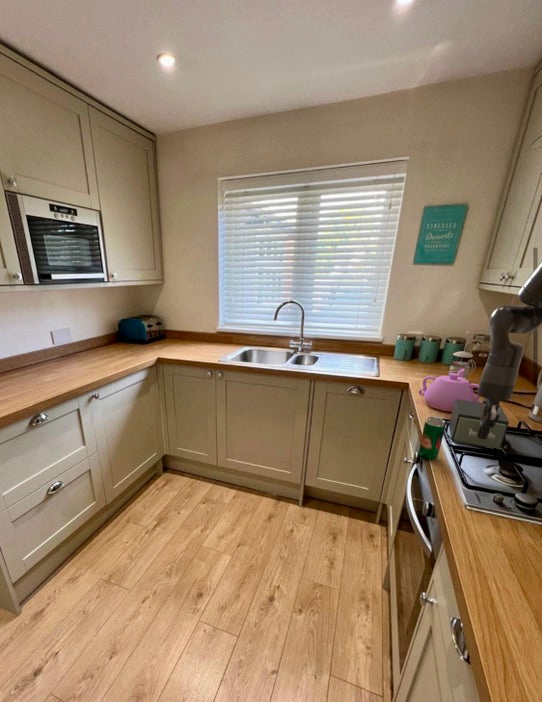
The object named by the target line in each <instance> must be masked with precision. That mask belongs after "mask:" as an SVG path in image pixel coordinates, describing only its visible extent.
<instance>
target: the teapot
mask: <svg viewBox="0 0 542 702" xmlns="http://www.w3.org/2000/svg"><path fill="white" fill-rule="evenodd" d="M463 372H464V368H461V369H460V370H459V371H458V373H457V374H456V373H449V372H448V375H440V376H438V377H436V376H434V375H428V376H425V377H424V378H423V380H422V388H420V389H419V390H418V395H419V396H421V397H423V399H424V401H425V403H426V404H427V405H428V406H430V407H432V408H433V409H437V410H440V411H443V412H449V413H450V412H451V413H452V410H453V406H454V402H455V399H458V400H465V401H472V402H479V403H481V402H482V400H481V401H480V400H479V399H480V398H481V396H479V395H478V394H477V395H476V397H475V392H474V389H473V387H474V388H476V389H478V388H479V384H477V383H470V381H469V380H468V379H467V380H466V379H464V378H462V376H463ZM427 380H433V381H432V382H431V383H430V384H429V385H428V386H427Z"/></svg>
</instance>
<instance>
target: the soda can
mask: <svg viewBox="0 0 542 702" xmlns="http://www.w3.org/2000/svg"><path fill="white" fill-rule="evenodd" d="M446 425H447V424H446V420H445V419H443V418H441V417H436V416H428V417H427V418H426V420H425V421H424V424H423V428H422V429H423V430H422V432H421V433H422V434H421V437H420V438H421V439H420V442H419V447H418V452H417V454H418V456H419V457H420V458H421V459H423V460H425V461H435V460H438V457H439V454H440V451H441V445H442V443H443V438H444V435H445V430H446Z"/></svg>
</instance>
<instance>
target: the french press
mask: <svg viewBox="0 0 542 702" xmlns="http://www.w3.org/2000/svg"><path fill="white" fill-rule="evenodd" d="M465 334H466V335H467V337H466V341H465V345H464V349H463V351H461V350H460V351H456V352H454V353H452V356H454V357H458V358H461V360H453V361H452V364H450V368H449V371H448V374H449V373H456V374H457V373H458V371H459V370H460V369H461V368H464V372H463V376H462V378H464V379H466V380H468V376H469V375H471V374H473V373H474V372H475V370H476V367H477V366H476V362H475V361H472V359H470V358H473V357H474V355H473V354H472V353H471V352H468V351H466V346H467V342H468V339H469V335H471V334H472V331H471V330H467V331H466V333H465ZM463 358H464V359H465V358H466V359H468V358H469V359H468V360H467V361H463ZM473 363H474V364H473ZM470 365H471V366H472V367H471V366H470ZM470 369H471V370H470Z"/></svg>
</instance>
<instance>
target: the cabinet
mask: <svg viewBox="0 0 542 702" xmlns="http://www.w3.org/2000/svg"><path fill="white" fill-rule="evenodd" d="M499 406H501V405H500V404H499ZM480 407H481V403H479V402H472V401H465V400H458V399H455V402H454V406H453V410H452V412H451V413H450V414H451V415H450V419H449V422H448V427H449V434H450V441H451V440H452V441H451V442H453V441H454V438H455V434H456V430H457V427H458V423H459V419H460V417H466V418H473V419H479V414H480ZM504 411H505V410H504V409H503V408H502V407H501V409H500V412H498V414H499V416H500V417H499V419H498V420H497V422H498V423H502V424H506V429H505V432H504V435H503V438H502V441H501V444H500V450H501V449H502V446H503V443H504V439H505V436H506V433H507V431H508V427H509V424H510V421H509V419H508V417H507V416H506V413H505V412H504ZM454 442H455V443H459V444H465V445H469V446H475V447H480V448H485V447H486V446H480V445H475V444H470V443H465V442H459V441H454Z"/></svg>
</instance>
